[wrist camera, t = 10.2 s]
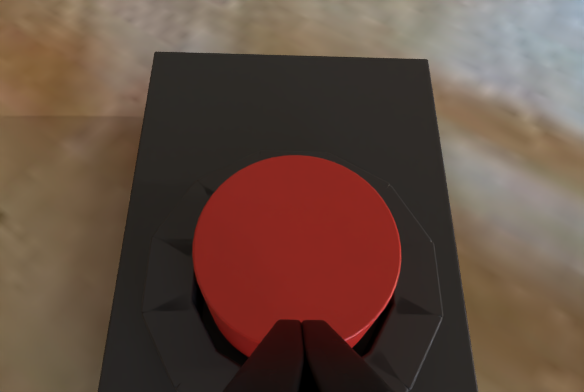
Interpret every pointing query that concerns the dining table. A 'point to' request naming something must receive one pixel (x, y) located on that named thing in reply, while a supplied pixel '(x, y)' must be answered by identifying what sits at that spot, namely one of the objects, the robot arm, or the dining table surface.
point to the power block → (272, 143)
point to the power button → (295, 250)
